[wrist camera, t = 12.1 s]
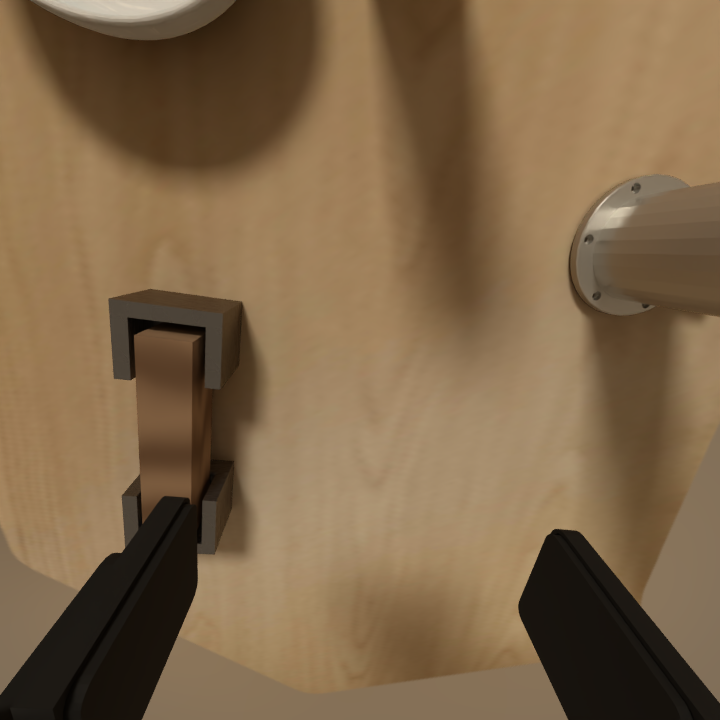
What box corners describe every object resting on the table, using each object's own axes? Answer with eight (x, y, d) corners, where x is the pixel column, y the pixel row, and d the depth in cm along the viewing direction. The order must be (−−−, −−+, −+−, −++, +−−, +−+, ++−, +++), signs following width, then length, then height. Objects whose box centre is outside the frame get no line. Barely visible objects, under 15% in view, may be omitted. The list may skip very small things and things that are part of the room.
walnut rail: (165, 321, 29) (133, 335, 24) (214, 327, 29) (192, 342, 25) (168, 501, 34) (143, 542, 30) (209, 504, 35) (190, 544, 30)
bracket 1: (150, 289, 30) (108, 298, 24) (242, 301, 31) (222, 313, 25) (152, 355, 32) (113, 378, 26) (238, 365, 33) (220, 389, 27)
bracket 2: (231, 508, 38) (214, 554, 32) (156, 504, 37) (125, 550, 31) (233, 461, 36) (216, 501, 30) (155, 455, 35) (121, 495, 29)
